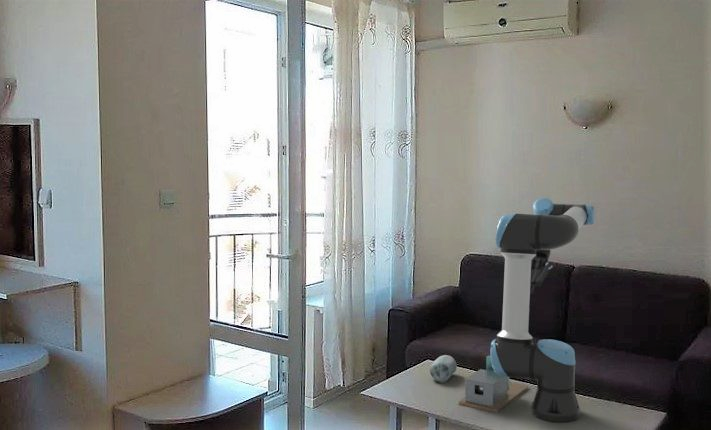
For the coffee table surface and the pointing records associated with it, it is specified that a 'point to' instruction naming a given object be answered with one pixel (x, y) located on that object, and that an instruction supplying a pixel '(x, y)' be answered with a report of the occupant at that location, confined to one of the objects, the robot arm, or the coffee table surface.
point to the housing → (490, 391)
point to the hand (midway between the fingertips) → (524, 299)
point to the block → (490, 368)
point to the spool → (443, 368)
